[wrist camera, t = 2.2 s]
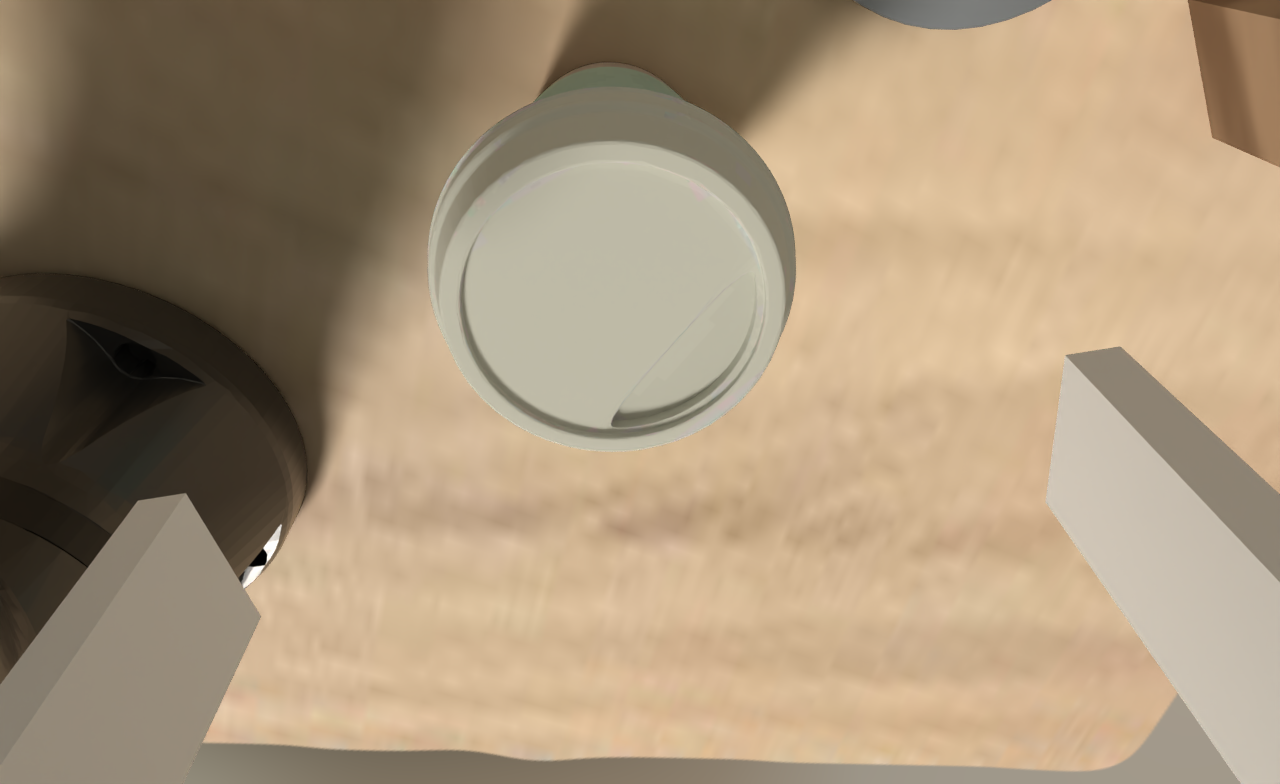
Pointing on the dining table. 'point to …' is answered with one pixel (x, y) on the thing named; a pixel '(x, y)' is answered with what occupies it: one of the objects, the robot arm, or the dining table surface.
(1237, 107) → the walnut block
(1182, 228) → the dining table surface
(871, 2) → the saucer
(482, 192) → the coffee cup
